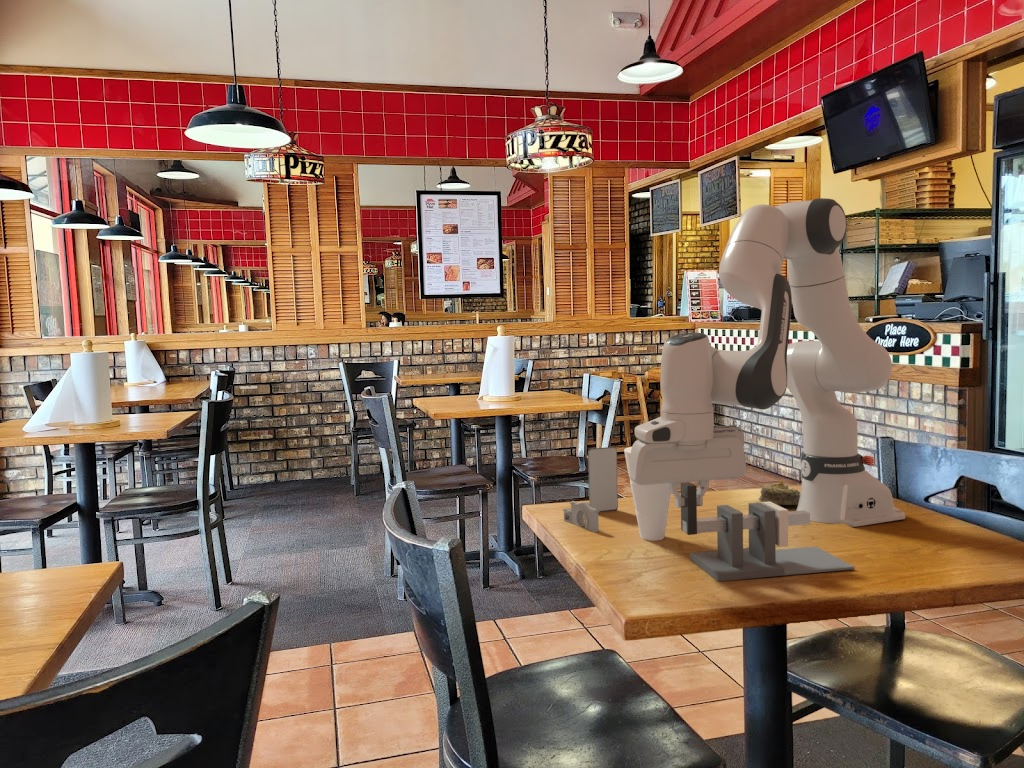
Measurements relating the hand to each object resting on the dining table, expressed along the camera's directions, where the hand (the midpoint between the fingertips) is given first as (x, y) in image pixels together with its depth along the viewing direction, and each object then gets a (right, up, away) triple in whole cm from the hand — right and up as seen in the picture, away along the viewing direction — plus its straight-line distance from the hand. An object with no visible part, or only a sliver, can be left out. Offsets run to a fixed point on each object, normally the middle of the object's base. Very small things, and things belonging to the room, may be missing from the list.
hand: (688, 506), depth 131 cm
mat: (+21, -11, +4) cm, 24 cm away
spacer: (+16, -7, +3) cm, 18 cm away
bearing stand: (+9, -11, +2) cm, 14 cm away
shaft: (+11, -4, +2) cm, 12 cm away
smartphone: (-10, -9, +43) cm, 45 cm away
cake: (+33, -7, +47) cm, 57 cm away
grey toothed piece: (-16, -10, +31) cm, 36 cm away
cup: (-2, -10, +22) cm, 24 cm away
